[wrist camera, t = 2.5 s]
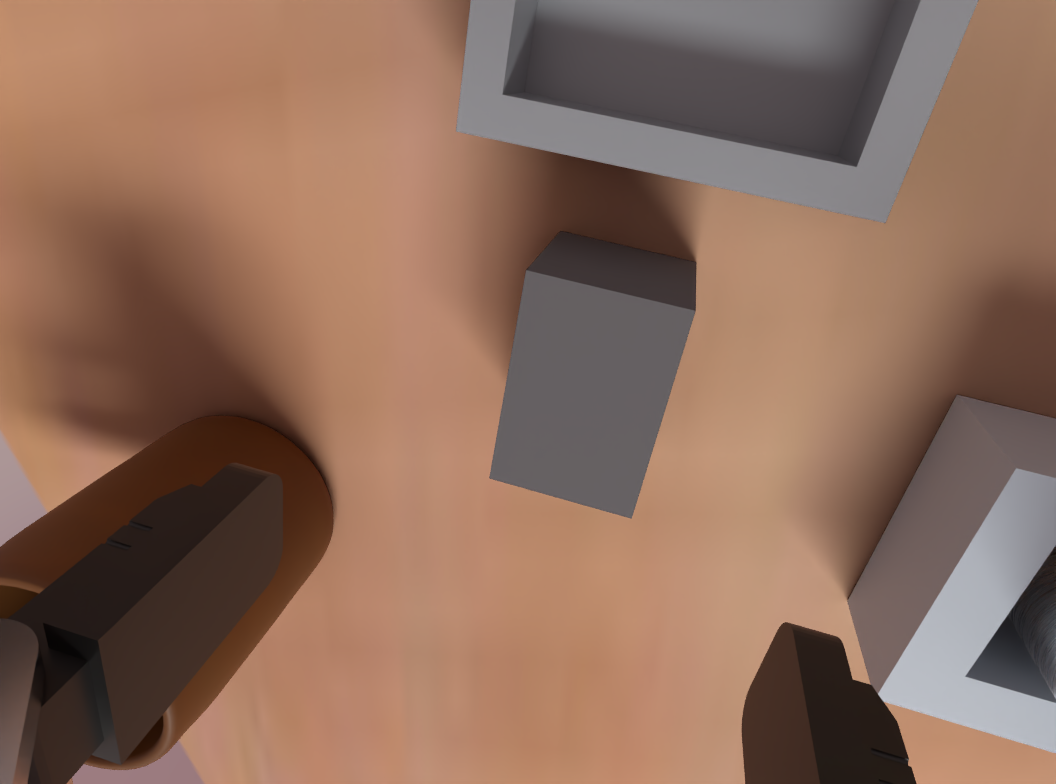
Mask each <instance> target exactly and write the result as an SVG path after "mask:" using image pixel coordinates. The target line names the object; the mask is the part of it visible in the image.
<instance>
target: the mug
mask: <svg viewBox="0 0 1056 784" xmlns="http://www.w3.org/2000/svg"><path fill="white" fill-rule="evenodd" d="M230 463H238V464H242V465H245V466H249V467H252V468H256V469H259V470H263V471H266V472H270V473H273V474H277V475H279V476H280V477H281V480H282V483H283V551H282V556H281V560H280V563H279V566H278V569H277V571H276V573H275V575H274V577H273V579H272V580H271V582H270V584H269V585H268V586H267V588H266V589H265V590H264V591H263V592H262V594H261V595H260V596H259V597H258V599H257V600H256V601H255V602H254V604H253V605H252V606H251V607H250V608H249V610H248V611H247V612H246V613H245V615H244V616H243V617H242V618H241V619H240V621H239V622H238V623H237V624H236V626H235V627H234V628H233V629H232V630H231V632H230V633H229V634H228V635H227V637H226V638H225V639H224V640H223V641H222V643H221V644H220V645H219V646H218V648H217V649H216V650H215V651H214V652H213V654H212V655H211V656H210V657H209V659H208V660H207V661H206V662H205V663H204V665H203V666H202V667H201V668H200V670H199V671H198V672H197V673H196V674H195V676H194V677H193V678H192V679H191V681H190V682H189V683H188V684H187V685H186V687H185V688H184V689H183V690H182V692H181V693H180V694H179V695H178V696H177V698H176V699H175V700H174V701H173V703H172V704H171V705H170V706H169V708H168V709H167V710H166V711H165V712H164V714H163V715H162V716H161V717H160V719H159V720H158V721H157V722H156V723H155V725H154V726H153V727H152V728H151V730H150V731H149V732H148V733H147V734H146V736H145V737H144V738H143V739H142V741H141V742H140V743H139V744H138V745H137V747H136V748H135V749H134V750H133V752H132V753H131V754H130V755H129V756H128V758H127V759H126V760H125V761H124V763H123V764H122V765H119V764H116V763H113V762H110V761H108V760H105V759H102V758H99V757H96V756H93V755H91V756H90V757H89V758H88V759H87V761H86V762H85V763H84V764H86V765H89V766H94V767H98V768H104V769H112V770H129V769H136V768H140V767H144V766H147V765H149V764H150V763H152V762H155V761H156V760H158V759H160V758H161V757H162V756H163V755H165V754H166V753H167V752H168V751H169V750H170V749H171V748H172V747H173V745H175V743H176V742H177V741H178V740H179V739H180V737H181V736H182V735H183V734H184V733H185V732H186V731H187V729H188V728H189V727H190V726H191V725H192V724H193V723H194V722H195V721H196V720H197V719H198V718H199V717H200V716H201V714H202V713H203V712H204V711H205V710H206V709H207V708H208V707H209V705H210V704H211V703H212V702H213V701H214V699H215V698H216V697H217V696H218V694H219V693H220V692H221V691H222V689H223V688H224V687H225V685H226V684H227V683H228V682H229V680H230V679H231V678H232V676H233V675H234V674H235V672H236V671H237V670H238V669H239V667H240V666H241V665H242V663H243V662H244V661H245V660H246V658H247V657H248V656H249V654H250V653H251V652H252V651H253V649H254V648H255V647H256V645H257V644H258V643H259V641H260V640H261V639H262V638H263V636H264V635H265V634H266V632H267V631H268V630H269V628H270V627H271V626H272V625H273V623H274V622H275V621H276V619H277V618H278V617H279V615H280V614H281V613H282V611H283V610H284V608H285V607H286V606H287V604H288V603H289V602H290V600H291V599H292V598H293V596H294V595H295V594H296V592H297V591H298V590H299V589H300V587H301V586H302V585H303V583H304V582H305V581H306V580H307V578H308V577H309V576H310V574H311V573H312V572H313V570H314V569H315V568H316V566H317V565H318V563H319V562H320V560H321V559H322V557H323V556H324V554H325V552H326V550H327V547H328V545H329V543H330V540H331V536H332V532H333V508H332V503H331V498H330V495H329V492H328V489H327V487H326V485H325V483H324V481H323V479H322V477H321V475H320V474H319V472H318V470H317V469H316V467H315V466H314V465H313V463H312V462H311V461H310V459H309V458H308V457H307V456H306V455H305V454H304V453H303V452H302V451H301V450H300V449H299V448H298V447H297V446H296V445H295V444H293V443H292V442H291V441H290V440H288V439H287V438H286V437H284V436H283V435H282V434H280V433H278V432H276V431H275V430H273V429H271V428H269V427H267V426H265V425H263V424H261V423H258V422H255V421H252V420H249V419H245V418H241V417H235V416H221V415H220V416H208V417H203V418H199V419H196V420H193V421H191V422H188V423H185V424H183V425H181V426H179V427H178V428H176V429H174V430H173V431H171V432H169V433H168V434H166V435H165V436H163V437H161V438H160V439H158V440H157V441H155V442H154V443H152V444H151V445H149V446H148V447H146V448H145V449H144V450H142V451H141V452H139V453H138V454H136V455H135V456H133V457H132V458H130V459H128V460H127V461H125V462H124V463H122V464H121V465H119V466H118V467H116V468H114V469H113V470H111V471H110V472H108V473H107V474H105V475H104V476H102V477H101V478H99V479H98V480H96V481H95V482H93V483H92V484H90V485H89V486H87V487H86V488H84V489H83V490H81V491H80V492H78V493H77V494H75V495H74V496H72V497H71V498H69V499H68V500H66V501H65V502H64V503H62V504H61V505H59V506H58V507H56V508H55V509H53V510H52V511H50V512H49V513H47V514H46V515H44V516H43V517H41V518H40V519H38V520H37V521H35V522H34V523H32V524H31V525H29V526H28V527H26V528H25V529H24V530H22V531H21V532H19V533H18V534H17V535H15V536H14V537H12V538H11V539H10V540H8V541H7V542H6V543H5V544H4V545H2V546H1V547H0V618H3V619H7V618H9V617H10V616H11V615H13V614H14V613H15V612H17V611H18V610H19V609H20V608H22V607H23V606H24V605H25V604H27V603H28V602H29V601H30V600H32V599H33V598H34V597H35V596H37V595H38V594H39V593H40V592H42V591H43V590H44V589H45V588H47V587H48V586H49V585H50V584H51V583H53V582H54V581H55V580H56V579H58V578H59V577H60V576H61V575H63V574H64V573H65V572H66V571H68V570H69V569H70V568H71V567H73V566H74V565H75V564H76V563H77V562H79V561H80V560H81V559H82V558H84V557H85V556H86V555H87V554H89V553H90V552H91V551H92V550H94V549H95V548H96V547H97V546H99V545H100V544H101V543H102V544H105V543H106V542H107V538H108V537H110V536H111V535H112V534H113V533H115V532H116V531H117V530H118V529H120V528H121V527H122V526H123V525H126V526H127V525H128V524H129V521H130V520H131V519H132V518H133V517H135V516H136V515H137V514H138V513H139V512H141V511H142V510H143V509H144V508H146V507H147V506H148V505H149V504H151V503H152V502H153V501H154V500H156V499H157V498H160V497H162V496H164V495H167V494H169V493H171V492H173V491H176V490H178V489H180V488H183V487H185V486H187V485H190V484H193V485H196V486H200V487H202V486H203V485H204V484H205V483H206V482H207V481H209V480H210V479H211V478H212V477H213V476H214V475H216V474H217V473H218V472H219V471H220V470H221V469H223V468H224V467H225V466H226V465H228V464H230Z"/></svg>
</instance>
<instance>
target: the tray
mask: <svg viewBox="0 0 1056 784" xmlns="http://www.w3.org/2000/svg"><path fill="white" fill-rule="evenodd" d="M977 2H978V0H471V4H470V12H469V21H468V30H467V39H466V48H465V57H464V65H463V74H462V83H461V92H460V101H459V110H458V118H457V127H456V132H461V133H466V134H470V135H475V136H480V137H484V138H489V139H494V140H498V141H503V142H508V143H512V144H517V145H522V146H527V147H531V148H536V149H541V150H545V151H550V152H555V153H559V154H564V155H569V156H573V157H578V158H583V159H587V160H592V161H597V162H601V163H606V164H611V165H616V166H620V167H625V168H630V169H634V170H639V171H644V172H648V173H653V174H658V175H662V176H667V177H672V178H676V179H681V180H686V181H691V182H695V183H700V184H705V185H709V186H714V187H719V188H723V189H728V190H733V191H737V192H742V193H747V194H751V195H756V196H761V197H765V198H770V199H775V200H780V201H784V202H789V203H794V204H798V205H803V206H808V207H812V208H817V209H822V210H826V211H831V212H836V213H840V214H845V215H850V216H855V217H859V218H864V219H869V220H873V221H878V222H883V223H886V220H887V218H888V216H889V213H890V211H891V208H892V206H893V204H894V201H895V199H896V196H897V194H898V192H899V189H900V187H901V184H902V182H903V180H904V177H905V175H906V172H907V170H908V168H909V165H910V163H911V160H912V158H913V156H914V153H915V151H916V148H917V146H918V144H919V141H920V139H921V137H922V134H923V132H924V129H925V127H926V125H927V122H928V120H929V117H930V115H931V113H932V110H933V108H934V105H935V103H936V101H937V98H938V96H939V93H940V91H941V89H942V86H943V84H944V81H945V79H946V77H947V74H948V72H949V70H950V67H951V65H952V62H953V60H954V58H955V55H956V53H957V50H958V48H959V46H960V43H961V41H962V38H963V36H964V34H965V31H966V29H967V26H968V24H969V22H970V19H971V17H972V14H973V12H974V10H975V7H976V5H977Z"/></svg>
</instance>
